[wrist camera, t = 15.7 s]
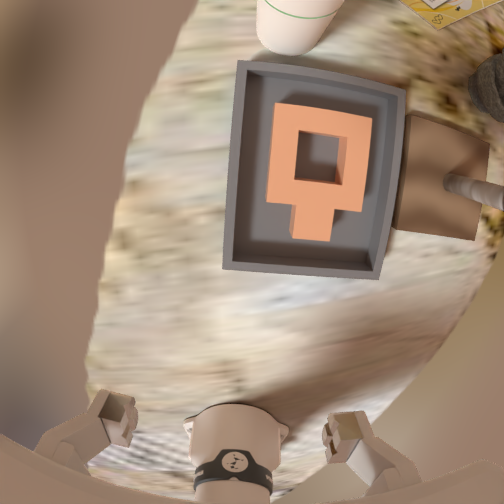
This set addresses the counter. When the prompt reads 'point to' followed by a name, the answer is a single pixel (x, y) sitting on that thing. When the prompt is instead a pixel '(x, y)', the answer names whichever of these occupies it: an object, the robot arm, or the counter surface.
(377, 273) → the tray
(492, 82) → the mortar and pestle
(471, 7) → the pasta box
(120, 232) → the counter surface
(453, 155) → the stake stand
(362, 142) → the ring
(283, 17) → the cylindrical container
